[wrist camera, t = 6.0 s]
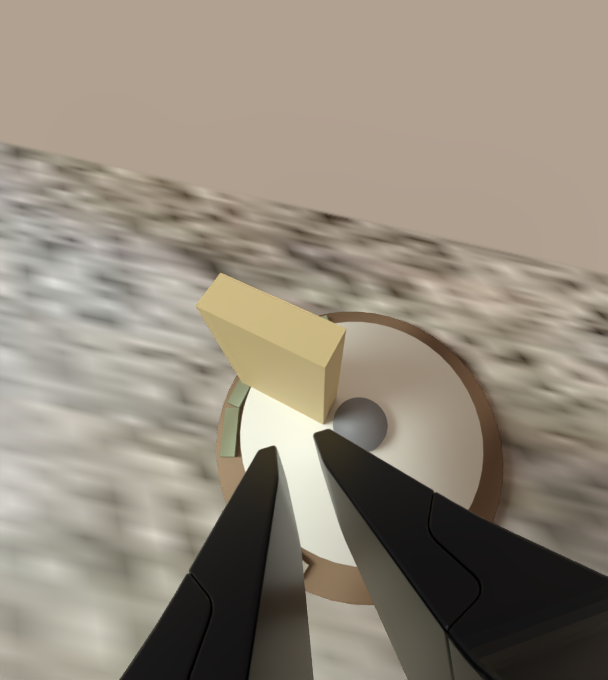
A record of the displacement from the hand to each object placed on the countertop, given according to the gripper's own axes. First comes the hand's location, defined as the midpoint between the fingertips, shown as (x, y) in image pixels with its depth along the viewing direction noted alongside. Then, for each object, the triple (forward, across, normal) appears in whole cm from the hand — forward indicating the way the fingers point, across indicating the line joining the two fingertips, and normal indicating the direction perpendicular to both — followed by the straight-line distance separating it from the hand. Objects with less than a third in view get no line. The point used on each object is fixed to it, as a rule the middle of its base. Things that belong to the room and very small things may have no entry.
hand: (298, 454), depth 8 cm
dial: (+8, -3, +5) cm, 10 cm away
